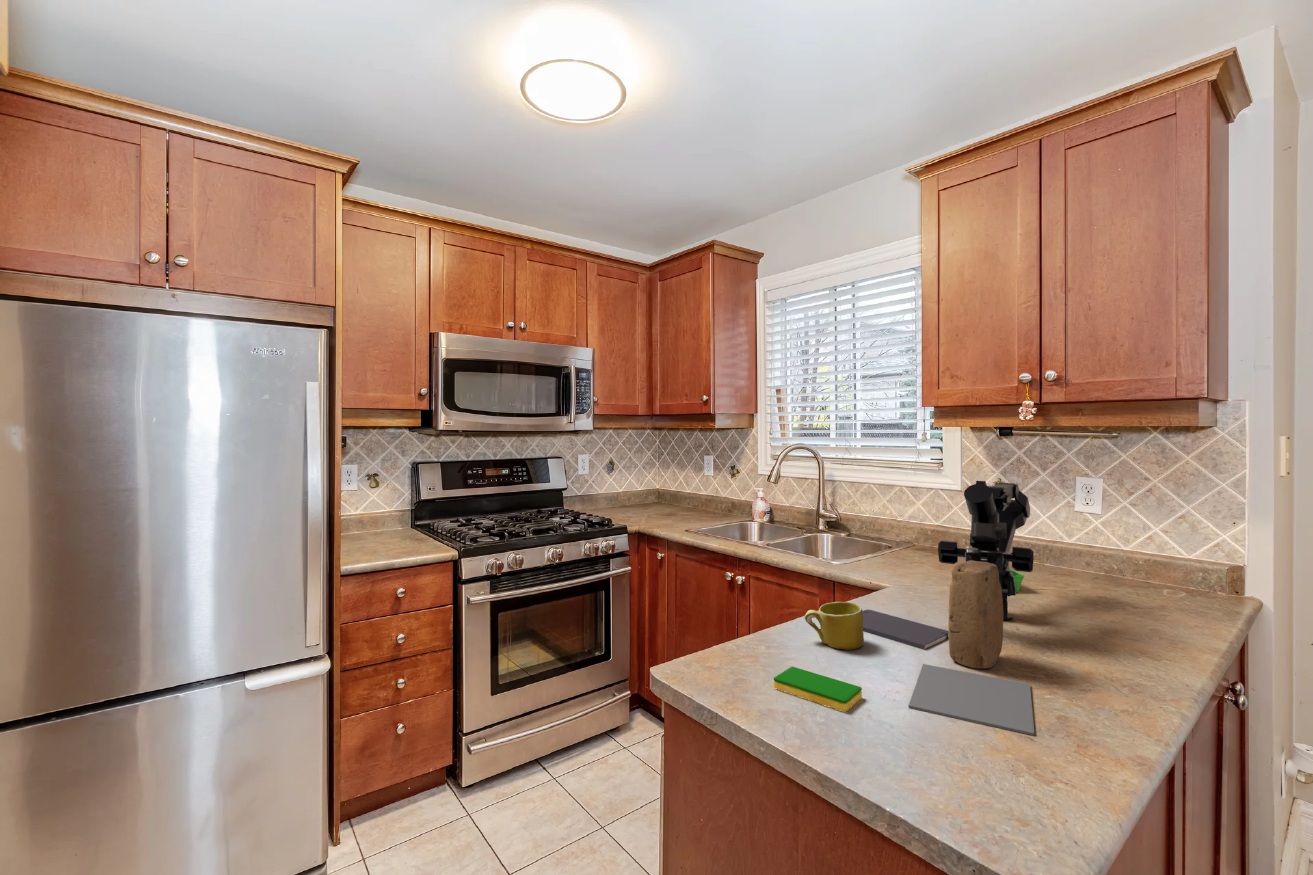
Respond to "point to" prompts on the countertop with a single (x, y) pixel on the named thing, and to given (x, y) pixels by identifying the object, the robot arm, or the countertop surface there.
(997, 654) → the brown rough stone
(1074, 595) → the countertop surface
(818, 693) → the dish sponge
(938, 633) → the notebook
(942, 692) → the mat
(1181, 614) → the countertop surface
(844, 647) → the mug
